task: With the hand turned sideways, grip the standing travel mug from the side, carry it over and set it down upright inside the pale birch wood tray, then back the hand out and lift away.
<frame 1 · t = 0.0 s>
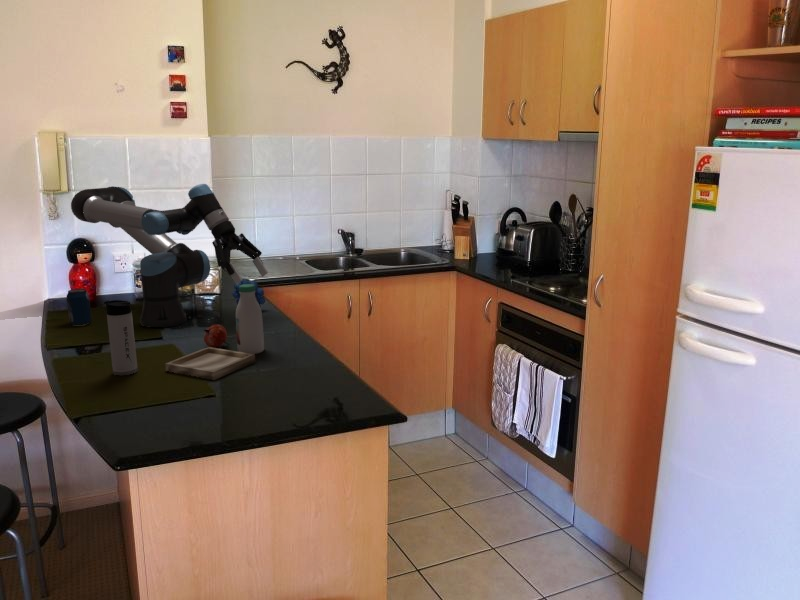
hand: (252, 278, 241), 15 cm above the countertop, tool tilted 35°, fingers open, 13 cm apart
pomegranate: (217, 348, 216), on the countertop
grapes: (249, 312, 259), on the countertop
milk bottle: (251, 352, 212), on the countertop
travel mug: (124, 373, 194), on the countertop
soda can: (81, 325, 245), on the countertop
wood tray: (211, 366, 198), on the countertop
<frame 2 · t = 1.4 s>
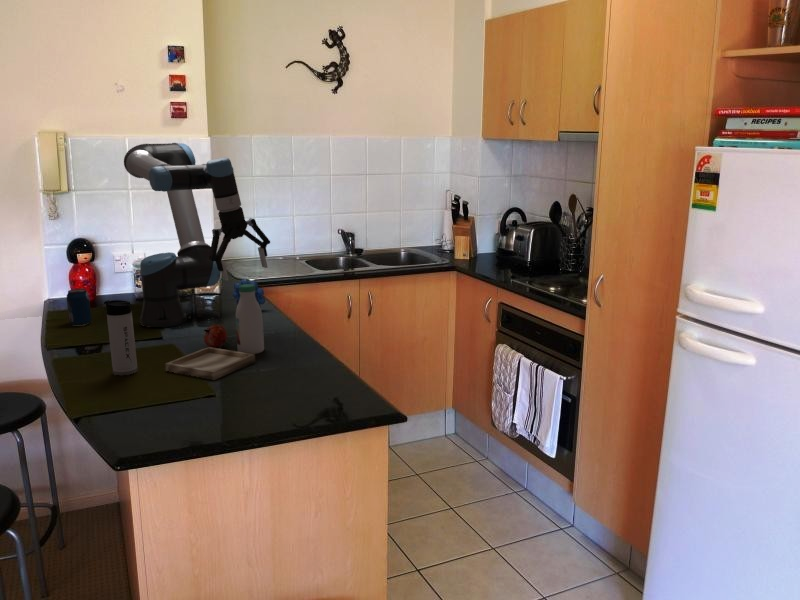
hand: (245, 273, 229), 19 cm above the countertop, tool pointing down, fingers open, 13 cm apart
nothing on the countertop moved.
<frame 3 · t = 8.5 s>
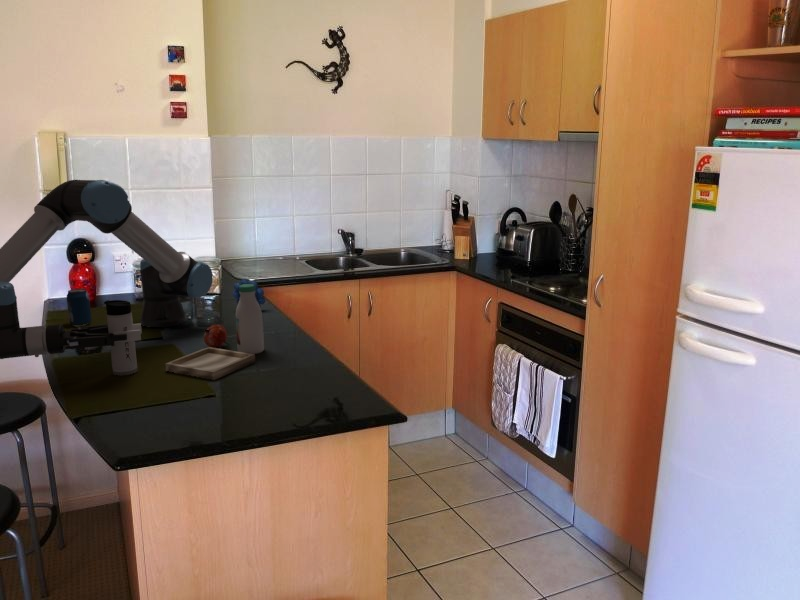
hand: (140, 331, 193), 11 cm above the countertop, tool horizontal, fingers closed on travel mug, 6 cm apart
travel mug: (124, 373, 194), on the countertop, touching gripper
everything else where it was.
when the fingers open (13 cm above the countertop, at t = 12.9 s): travel mug drops 1 cm, resting on wood tray.
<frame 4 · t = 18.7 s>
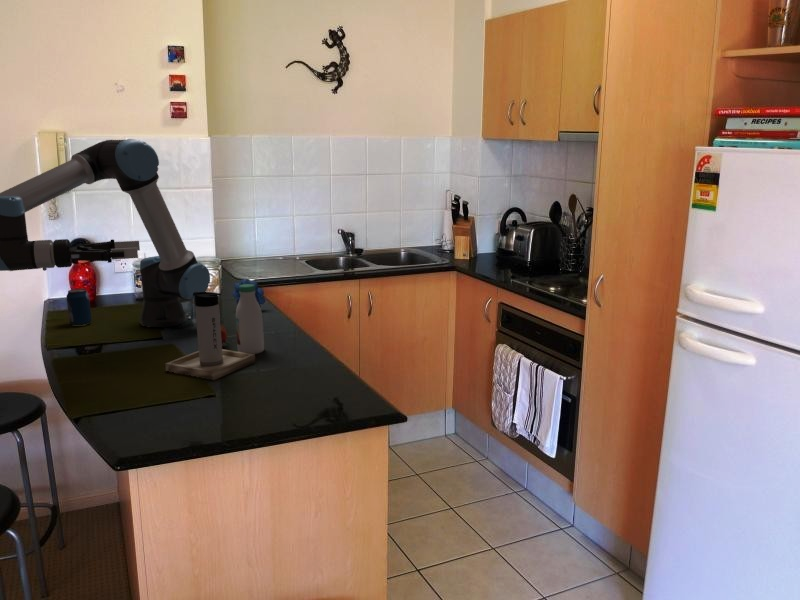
hand: (138, 249, 198), 32 cm above the countertop, tool horizontal, fingers open, 13 cm apart
travel mug: (210, 363, 198), point 1 cm above the countertop, touching wood tray
everything else where it was.
at the end: travel mug inside the target area on the wood tray (0.1 cm from its centre), point 0.8 cm above the wood tray's base; travel mug tilted 0°; the gripper is holding nothing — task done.
